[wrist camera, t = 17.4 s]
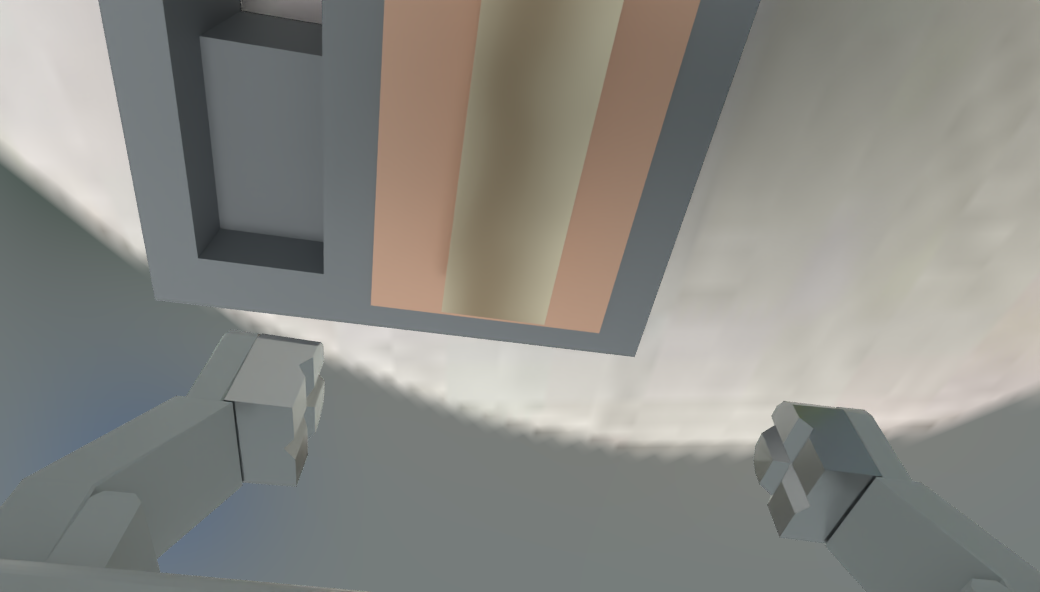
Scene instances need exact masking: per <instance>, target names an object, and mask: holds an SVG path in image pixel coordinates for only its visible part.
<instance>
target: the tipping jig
mask: <svg viewBox="0 0 1040 592" xmlns="http://www.w3.org/2000/svg"><path fill="white" fill-rule="evenodd" d="M98 1H99V7H100V12H101V17H102V22H103V28H104V33H105V38H106V43H107V49H108V54H109V59H110V64H111V70H112V75H113V80H114V86H115V91H116V96H117V101H118V107H119V112H120V117H121V122H122V128H123V133H124V138H125V143H126V149H127V154H128V159H129V164H130V170H131V175H132V180H133V186H134V191H135V196H136V201H137V207H138V212H139V217H140V222H141V228H142V233H143V238H144V243H145V249H146V254H147V259H148V265H149V270H150V275H151V280H152V286H153V291H154V296H155V300H160V301H168V302H177V303H185V304H194V305H202V306H210V307H219V308H227V309H236V310H244V311H252V312H261V313H269V314H278V315H286V316H295V317H303V318H311V319H320V320H328V321H337V322H345V323H353V324H362V325H370V326H379V327H387V328H396V329H404V330H412V331H421V332H429V333H438V334H446V335H454V336H463V337H471V338H480V339H488V340H496V341H505V342H513V343H522V344H530V345H539V346H547V347H555V348H564V349H572V350H581V351H589V352H597V353H606V354H614V355H623V356H631V357H635V354H636V351H637V348H638V346H639V343H640V340H641V337H642V334H643V331H644V329H645V326H646V323H647V320H648V317H649V315H650V312H651V309H652V306H653V303H654V300H655V298H656V295H657V292H658V289H659V286H660V283H661V281H662V278H663V275H664V272H665V269H666V266H667V264H668V261H669V258H670V255H671V252H672V249H673V247H674V244H675V241H676V238H677V235H678V232H679V230H680V227H681V224H682V221H683V218H684V215H685V213H686V210H687V207H688V204H689V201H690V199H691V196H692V193H693V190H694V187H695V184H696V182H697V179H698V176H699V173H700V170H701V167H702V165H703V162H704V159H705V156H706V153H707V150H708V148H709V145H710V142H711V139H712V136H713V133H714V131H715V128H716V125H717V122H718V119H719V116H720V114H721V111H722V108H723V105H724V102H725V100H726V97H727V94H728V91H729V88H730V85H731V83H732V80H733V77H734V74H735V71H736V68H737V66H738V63H739V60H740V57H741V54H742V51H743V49H744V46H745V43H746V40H747V37H748V34H749V32H750V29H751V26H752V23H753V20H754V17H755V15H756V12H757V9H758V6H759V3H760V0H624V2H623V6H622V10H621V14H620V18H619V22H618V27H617V31H616V35H615V39H614V43H613V47H612V51H611V55H610V59H609V63H608V67H607V71H606V75H605V80H604V84H603V88H602V92H601V96H600V100H599V104H598V108H597V112H596V116H595V120H594V124H593V128H592V133H591V137H590V141H589V145H588V149H587V153H586V157H585V161H584V165H583V169H582V173H581V177H580V181H579V186H578V190H577V194H576V198H575V202H574V206H573V210H572V214H571V218H570V222H569V226H568V230H567V234H566V239H565V243H564V247H563V251H562V255H561V259H560V263H559V267H558V271H557V275H556V279H555V283H554V287H553V291H552V296H551V300H550V304H549V308H548V312H547V316H546V320H545V324H544V325H541V324H533V323H525V322H517V321H509V320H501V319H493V318H485V317H478V316H470V315H462V314H454V313H446V312H441V311H442V303H443V296H444V288H445V280H446V272H447V264H448V257H449V249H450V241H451V233H452V226H453V218H454V210H455V202H456V194H457V187H458V179H459V171H460V163H461V155H462V148H463V140H464V132H465V124H466V117H467V109H468V101H469V93H470V85H471V78H472V70H473V62H474V54H475V46H476V39H477V31H478V23H479V15H480V7H481V0H322V25H321V24H315V23H309V22H303V21H297V20H291V19H285V18H279V17H274V16H268V15H262V14H256V13H250V12H244V11H241V8H240V0H98Z"/></svg>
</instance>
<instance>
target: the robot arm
mask: <svg viewBox="0 0 1040 592" xmlns="http://www.w3.org/2000/svg"><path fill="white" fill-rule="evenodd" d="M323 362H324V347H323V344H322V343H321V342H315V341H308V340H302V339H295V338H288V337H282V336H275V335H268V334H258V333H251V332H244V331H237V330H230V331H228V332H227V333H225V334H224V335H223V337H222V338H221V340H220V342H219V344H218V345H217V347H216V348H215V350H214V352H213V353H212V355H211V357H210V358H209V360H208V362H207V363H206V365H205V366H204V368H203V370H202V371H201V373H200V375H199V376H198V378H197V379H196V381H195V383H194V384H193V386H192V388H191V389H190V391H189V393H188V394H187V396H186V397H182V396H176V397H173V398H172V399H170V400H168V401H166V402H164V403H162V404H160V405H159V406H157V407H155V408H153V409H151V410H149V411H148V412H146V413H144V414H142V415H140V416H138V417H136V418H135V419H133V420H131V421H129V422H127V423H125V424H124V425H122V426H120V427H118V428H116V429H114V430H113V431H111V432H109V433H107V434H105V435H103V436H101V437H100V438H98V439H96V440H94V441H92V442H90V443H89V444H87V445H85V446H83V447H81V448H79V449H78V450H76V451H74V452H72V453H70V454H68V455H67V456H65V457H63V458H61V459H59V460H57V461H55V462H54V463H52V464H50V465H48V466H46V467H44V468H43V469H41V470H39V471H37V472H35V473H33V474H31V475H30V476H28V477H26V478H24V479H22V481H21V482H20V483H19V485H18V486H17V487H16V488H15V490H14V491H13V492H12V493H11V495H10V496H9V497H8V498H7V500H6V501H5V502H4V504H3V505H2V506H1V507H0V592H368V591H358V590H357V591H356V590H346V589H335V588H323V587H313V586H302V585H291V584H279V583H269V582H258V581H247V580H234V579H224V578H213V577H202V576H191V575H180V574H168V573H160V570H159V565H158V562H157V559H158V558H159V557H160V556H161V555H162V554H163V553H165V552H166V551H167V550H168V549H169V548H170V547H172V546H173V545H174V544H175V543H176V542H177V541H179V540H180V539H181V538H182V537H183V536H184V535H185V534H187V533H188V532H189V531H190V530H191V529H192V528H194V527H195V526H196V525H197V524H198V523H199V522H201V521H202V520H203V519H204V518H205V517H206V516H208V515H209V514H210V513H211V512H212V511H213V510H215V509H216V508H217V507H218V506H219V505H220V504H222V503H223V502H224V501H225V500H226V499H227V498H229V497H230V496H231V495H232V494H233V493H234V492H236V491H237V490H238V489H239V488H240V487H241V486H242V482H243V483H256V484H269V485H281V486H294V487H295V486H297V484H298V481H299V478H300V475H301V472H302V470H303V467H304V464H305V461H306V458H307V456H308V438H310V437H311V436H313V435H314V434H315V433H316V429H317V426H318V423H319V420H320V416H321V411H322V406H323V399H324V379H323V378H322V377H321V376H320V375H319V373H320V370H321V368H322V365H323ZM772 419H773V422H774V425H775V426H773V427H771V428H770V429H768V430H766V431H765V432H763V433H762V434H761V436H760V438H759V440H758V442H757V444H756V446H755V453H754V468H755V473H756V476H757V479H758V481H759V484H760V485H761V486H762V487H763V488H764V489H765V490H767V492H768V493H769V494H770V495H771V497H770V500H769V502H768V504H767V506H768V508H769V511H770V514H771V516H772V519H773V521H774V524H775V527H776V529H777V532H778V534H779V537H781V538H789V539H796V540H804V541H811V542H819V543H826V545H825V546H826V548H827V549H828V550H829V551H830V552H831V553H832V554H833V555H834V556H835V557H836V559H837V560H838V561H839V562H840V563H841V564H842V565H843V566H844V568H845V569H846V570H847V571H848V572H849V573H850V574H851V575H852V576H853V578H854V579H855V580H856V581H857V582H858V583H859V584H860V585H861V586H862V588H863V589H864V590H865V591H866V592H1040V572H1039V571H1038V570H1037V569H1036V568H1034V567H1033V566H1031V565H1030V564H1029V563H1028V562H1026V561H1025V560H1024V559H1022V558H1021V557H1020V556H1018V555H1017V554H1016V553H1014V552H1013V551H1012V550H1010V549H1009V548H1008V547H1006V546H1005V545H1004V544H1003V543H1001V542H1000V541H998V540H997V539H996V538H994V537H993V536H992V535H991V534H989V533H988V532H987V531H985V530H984V529H983V528H981V527H980V526H979V525H977V524H976V523H975V522H973V521H972V520H971V519H969V518H968V517H967V516H965V515H964V514H963V513H961V512H960V511H959V510H957V509H956V508H955V507H953V506H952V505H951V504H949V503H948V502H947V501H945V500H944V499H942V498H941V497H940V496H939V495H937V494H936V493H935V492H933V491H932V490H931V489H929V488H928V487H927V486H925V485H924V484H923V483H921V482H914V481H912V479H911V478H910V476H909V474H908V473H907V471H906V469H905V468H904V466H903V465H902V463H901V461H900V460H899V458H898V457H897V455H896V453H895V452H894V450H893V449H892V447H891V445H890V444H889V442H888V441H887V439H886V437H885V436H884V434H883V433H882V431H881V429H880V428H879V426H878V425H877V423H876V421H875V420H874V418H873V417H872V415H871V414H869V413H868V412H867V411H865V410H861V409H852V408H843V407H836V408H835V407H830V406H821V405H813V404H805V403H796V402H788V401H783V402H782V403H781V404H779V405H778V406H777V407H776V409H775V411H774V412H773V414H772Z"/></svg>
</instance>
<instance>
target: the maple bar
mask: <svg viewBox="0 0 1040 592" xmlns="http://www.w3.org/2000/svg"><path fill="white" fill-rule="evenodd" d="M623 2H624V0H481V7H480V15H479V23H478V31H477V39H476V46H475V54H474V62H473V70H472V78H471V85H470V93H469V101H468V109H467V117H466V124H465V132H464V140H463V148H462V155H461V163H460V171H459V179H458V187H457V194H456V202H455V210H454V218H453V226H452V233H451V241H450V249H449V257H448V264H447V272H446V280H445V288H444V296H443V303H442V311H441V312H446V313H454V314H462V315H470V316H478V317H485V318H493V319H501V320H509V321H517V322H525V323H533V324H541V325H544V324H545V320H546V316H547V312H548V308H549V304H550V300H551V296H552V291H553V287H554V283H555V279H556V275H557V271H558V267H559V263H560V259H561V255H562V251H563V247H564V243H565V239H566V234H567V230H568V226H569V222H570V218H571V214H572V210H573V206H574V202H575V198H576V194H577V190H578V186H579V181H580V177H581V173H582V169H583V165H584V161H585V157H586V153H587V149H588V145H589V141H590V137H591V133H592V128H593V124H594V120H595V116H596V112H597V108H598V104H599V100H600V96H601V92H602V88H603V84H604V80H605V75H606V71H607V67H608V63H609V59H610V55H611V51H612V47H613V43H614V39H615V35H616V31H617V27H618V22H619V18H620V14H621V10H622V6H623Z"/></svg>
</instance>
